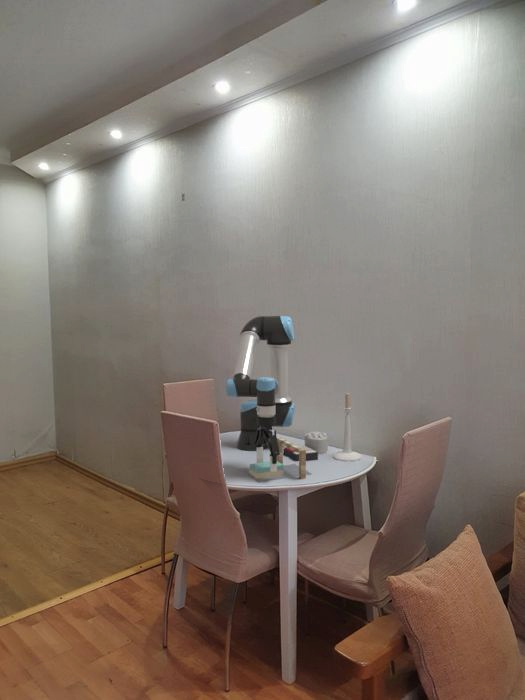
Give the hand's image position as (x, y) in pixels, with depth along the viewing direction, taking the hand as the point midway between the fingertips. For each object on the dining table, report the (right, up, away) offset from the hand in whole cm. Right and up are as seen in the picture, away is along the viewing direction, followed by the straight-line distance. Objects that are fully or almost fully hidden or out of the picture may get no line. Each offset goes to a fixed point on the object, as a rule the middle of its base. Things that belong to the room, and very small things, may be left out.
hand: (266, 466), depth 215 cm
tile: (0, -3, 0) cm, 3 cm away
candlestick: (+37, -2, +25) cm, 45 cm away
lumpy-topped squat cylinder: (+24, -1, +37) cm, 44 cm away
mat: (+5, -3, +2) cm, 6 cm away
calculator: (+16, -2, +27) cm, 32 cm away
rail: (+10, -3, +5) cm, 12 cm away
